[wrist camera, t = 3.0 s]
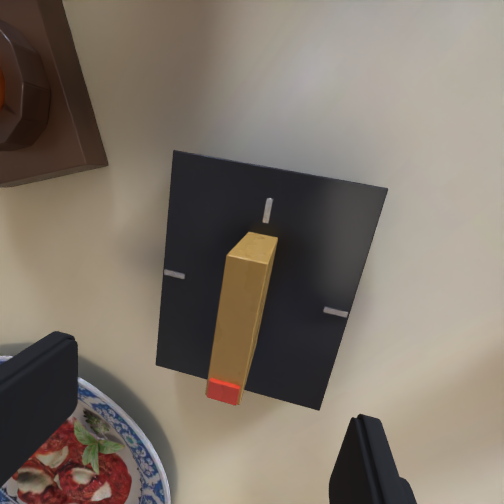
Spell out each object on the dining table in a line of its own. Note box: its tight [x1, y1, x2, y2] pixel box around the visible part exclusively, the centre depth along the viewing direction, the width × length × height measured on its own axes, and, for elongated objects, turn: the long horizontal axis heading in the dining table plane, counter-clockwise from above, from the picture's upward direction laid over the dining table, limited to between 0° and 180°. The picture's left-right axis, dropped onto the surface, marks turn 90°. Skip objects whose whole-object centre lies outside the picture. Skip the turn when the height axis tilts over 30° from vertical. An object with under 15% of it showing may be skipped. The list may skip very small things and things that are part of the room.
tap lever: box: [205, 232, 278, 405], centre depth 15 cm, size 8×2×5 cm, turn 170°
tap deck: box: [156, 150, 388, 411], centre depth 19 cm, size 15×12×3 cm
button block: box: [0, 0, 108, 187], centre depth 18 cm, size 11×9×4 cm
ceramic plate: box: [0, 356, 171, 504], centre depth 28 cm, size 26×26×3 cm
